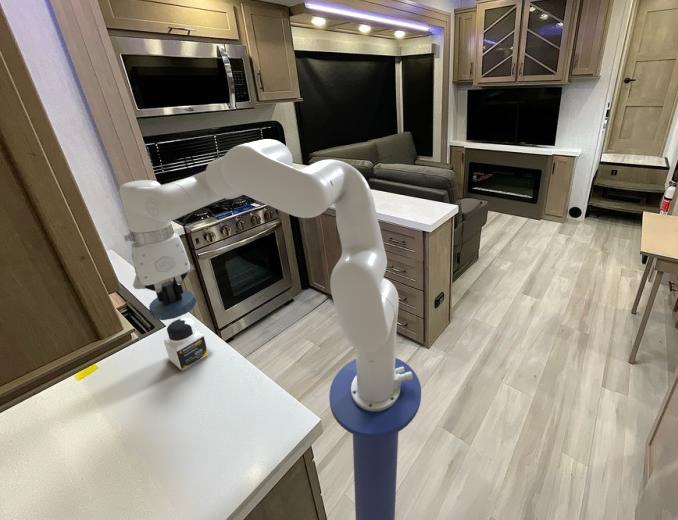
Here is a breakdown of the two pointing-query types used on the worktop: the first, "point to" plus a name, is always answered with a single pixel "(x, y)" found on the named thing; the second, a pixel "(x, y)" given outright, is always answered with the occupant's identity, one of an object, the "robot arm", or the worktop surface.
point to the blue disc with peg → (172, 303)
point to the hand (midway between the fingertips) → (171, 299)
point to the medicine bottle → (184, 343)
